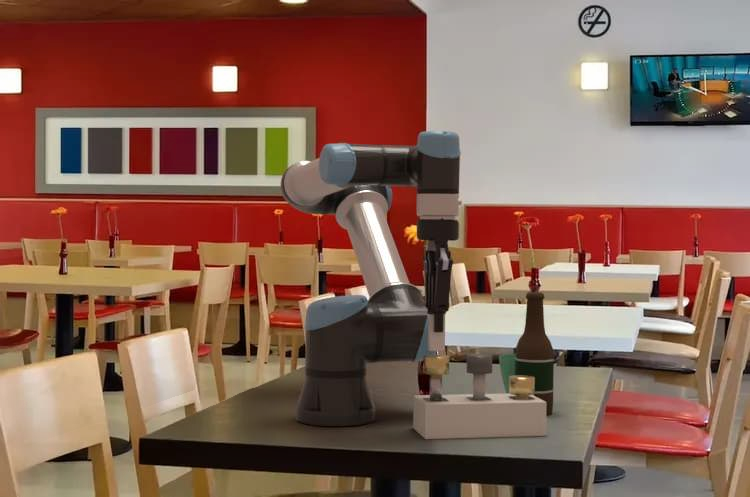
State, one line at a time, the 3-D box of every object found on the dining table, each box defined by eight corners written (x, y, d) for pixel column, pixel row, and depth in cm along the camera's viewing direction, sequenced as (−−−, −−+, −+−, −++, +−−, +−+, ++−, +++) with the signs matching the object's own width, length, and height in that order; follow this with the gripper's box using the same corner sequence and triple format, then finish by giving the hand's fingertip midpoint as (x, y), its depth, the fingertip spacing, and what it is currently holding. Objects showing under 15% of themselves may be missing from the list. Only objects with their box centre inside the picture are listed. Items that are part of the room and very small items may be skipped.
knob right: (512, 423, 194) (513, 379, 194) (505, 418, 198) (505, 375, 198) (537, 422, 195) (538, 378, 194) (529, 418, 199) (530, 375, 199)
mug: (538, 410, 217) (538, 361, 217) (491, 406, 221) (492, 358, 221) (558, 399, 230) (559, 353, 230) (514, 396, 235) (515, 350, 234)
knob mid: (470, 402, 192) (470, 357, 192) (463, 398, 197) (463, 354, 197) (494, 401, 193) (495, 357, 193) (487, 397, 198) (488, 353, 197)
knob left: (426, 403, 191) (426, 358, 191) (420, 398, 195) (420, 354, 195) (451, 402, 192) (451, 357, 191) (445, 398, 196) (445, 354, 196)
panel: (425, 439, 188) (425, 404, 188) (413, 427, 198) (413, 395, 198) (546, 435, 192) (546, 402, 192) (528, 425, 202) (528, 393, 202)
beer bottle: (527, 417, 210) (528, 294, 209) (506, 410, 217) (508, 291, 216) (561, 415, 213) (562, 293, 212) (539, 408, 220) (541, 290, 219)
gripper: (467, 218, 187) (466, 354, 187) (449, 218, 200) (448, 345, 200) (425, 218, 185) (423, 355, 186) (409, 218, 198) (408, 346, 199)
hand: (436, 350), depth 193 cm, fingers closed
